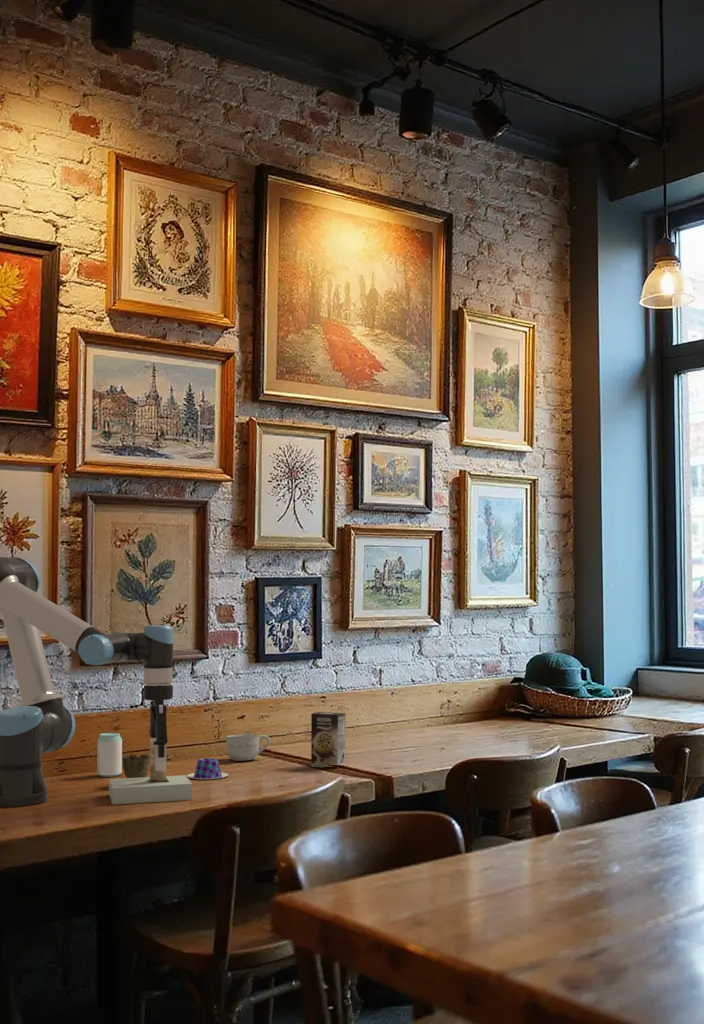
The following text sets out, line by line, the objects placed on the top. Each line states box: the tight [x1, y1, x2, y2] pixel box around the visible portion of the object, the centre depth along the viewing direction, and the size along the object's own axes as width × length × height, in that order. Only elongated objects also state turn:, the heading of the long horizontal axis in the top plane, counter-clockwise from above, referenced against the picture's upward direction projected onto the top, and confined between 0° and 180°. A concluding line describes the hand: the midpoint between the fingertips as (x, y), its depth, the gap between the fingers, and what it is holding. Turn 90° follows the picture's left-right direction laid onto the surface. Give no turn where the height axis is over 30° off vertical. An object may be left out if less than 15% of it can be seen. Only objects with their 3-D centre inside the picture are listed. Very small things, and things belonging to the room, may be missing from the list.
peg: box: [149, 741, 168, 783], centre depth 277 cm, size 4×4×14 cm
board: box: [108, 774, 193, 805], centre depth 276 cm, size 20×14×4 cm
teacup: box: [225, 733, 271, 762], centre depth 339 cm, size 14×11×8 cm
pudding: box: [186, 757, 229, 780], centre depth 307 cm, size 12×12×5 cm
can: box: [96, 732, 123, 778], centre depth 311 cm, size 7×7×12 cm
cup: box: [122, 753, 150, 778], centre depth 295 cm, size 8×7×8 cm
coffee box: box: [310, 711, 346, 768], centre depth 325 cm, size 9×6×16 cm
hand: (157, 766), depth 277 cm, fingers open, 13 cm apart
